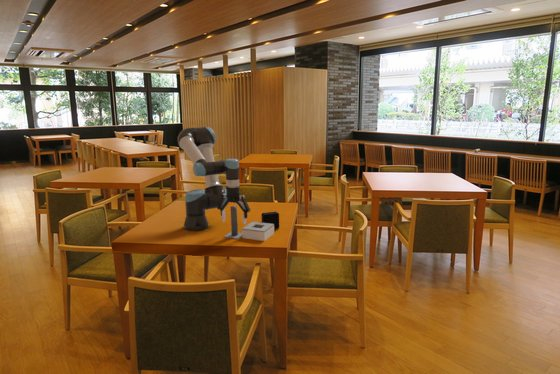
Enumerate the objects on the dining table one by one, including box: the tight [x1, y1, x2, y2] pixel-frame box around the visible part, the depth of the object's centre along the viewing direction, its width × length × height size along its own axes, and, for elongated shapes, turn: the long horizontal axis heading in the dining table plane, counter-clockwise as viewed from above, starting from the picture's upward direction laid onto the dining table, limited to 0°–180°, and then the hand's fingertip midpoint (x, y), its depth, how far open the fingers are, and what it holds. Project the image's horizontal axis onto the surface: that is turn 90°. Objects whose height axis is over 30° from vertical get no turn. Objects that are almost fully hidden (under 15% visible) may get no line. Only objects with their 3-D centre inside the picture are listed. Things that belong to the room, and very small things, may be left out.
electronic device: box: [261, 211, 280, 230], centre depth 235 cm, size 4×10×10 cm, turn 111°
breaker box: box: [241, 221, 275, 242], centre depth 223 cm, size 14×14×6 cm
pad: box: [223, 231, 242, 240], centre depth 223 cm, size 9×9×1 cm
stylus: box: [230, 205, 239, 236], centre depth 221 cm, size 4×4×17 cm
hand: (234, 222), depth 222 cm, fingers open, 13 cm apart
